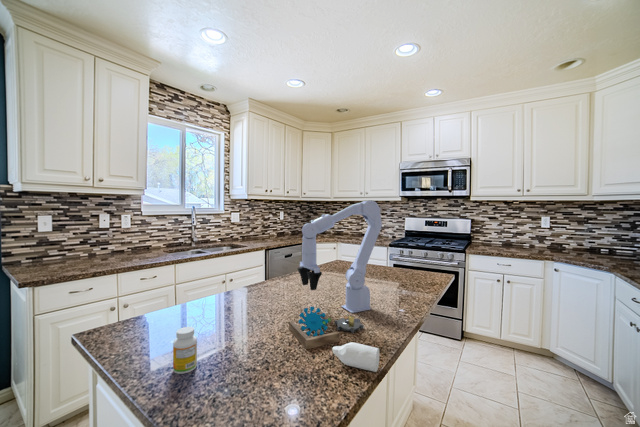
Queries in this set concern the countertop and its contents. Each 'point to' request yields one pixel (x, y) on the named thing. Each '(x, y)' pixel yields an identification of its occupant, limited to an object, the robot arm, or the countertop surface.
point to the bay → (313, 341)
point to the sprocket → (349, 324)
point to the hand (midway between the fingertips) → (309, 287)
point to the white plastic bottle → (358, 356)
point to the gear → (314, 321)
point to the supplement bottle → (185, 351)
